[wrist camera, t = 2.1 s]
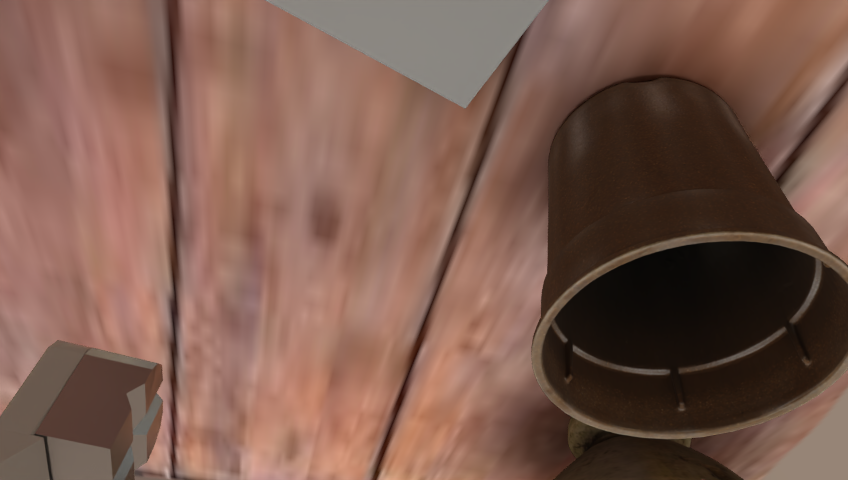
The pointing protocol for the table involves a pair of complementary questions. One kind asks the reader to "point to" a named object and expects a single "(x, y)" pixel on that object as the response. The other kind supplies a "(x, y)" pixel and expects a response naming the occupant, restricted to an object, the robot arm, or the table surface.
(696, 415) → the plant pot
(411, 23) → the post plate
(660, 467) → the brown ceramic vase
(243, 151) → the table surface
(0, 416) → the robot arm
